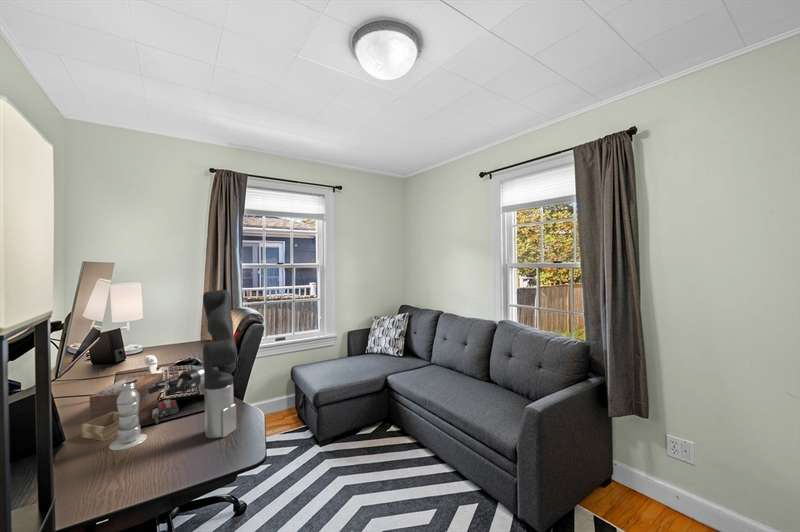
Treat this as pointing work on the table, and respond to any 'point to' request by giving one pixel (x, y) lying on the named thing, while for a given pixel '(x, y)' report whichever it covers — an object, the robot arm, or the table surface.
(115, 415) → the oak holder
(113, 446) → the grey coaster
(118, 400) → the plastic bottle
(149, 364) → the voxel character
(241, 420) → the table surface
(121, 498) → the table surface
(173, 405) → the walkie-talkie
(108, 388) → the tissue box cover
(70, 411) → the table surface
